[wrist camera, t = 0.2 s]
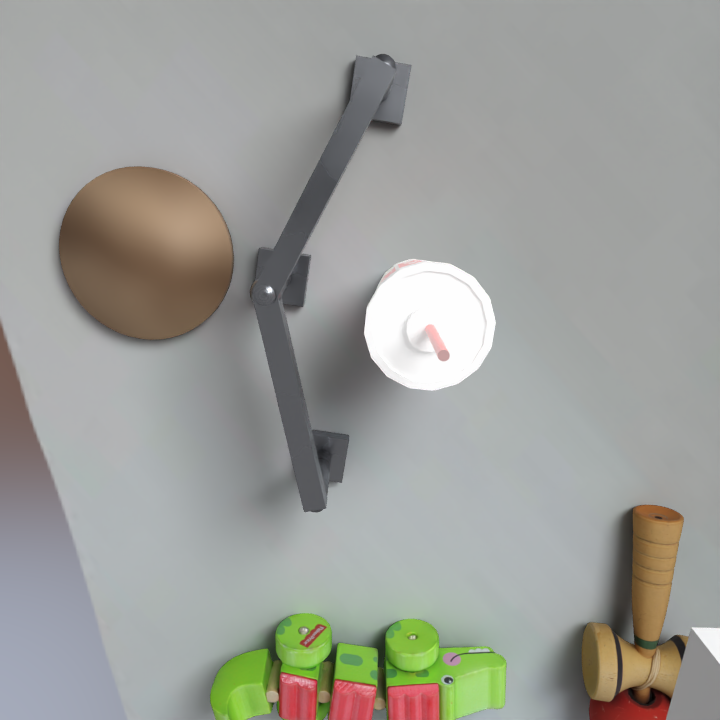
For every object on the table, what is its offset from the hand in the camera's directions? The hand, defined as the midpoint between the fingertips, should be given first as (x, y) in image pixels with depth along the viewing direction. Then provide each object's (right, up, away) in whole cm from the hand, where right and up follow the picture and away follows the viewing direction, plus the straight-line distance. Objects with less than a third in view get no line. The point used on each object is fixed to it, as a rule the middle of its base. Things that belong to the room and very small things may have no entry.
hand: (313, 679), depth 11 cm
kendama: (+20, -12, +33) cm, 40 cm away
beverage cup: (+4, +9, +27) cm, 28 cm away
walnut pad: (-12, +12, +26) cm, 31 cm away
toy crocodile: (+1, -15, +33) cm, 37 cm away
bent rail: (-2, +10, +26) cm, 28 cm away
